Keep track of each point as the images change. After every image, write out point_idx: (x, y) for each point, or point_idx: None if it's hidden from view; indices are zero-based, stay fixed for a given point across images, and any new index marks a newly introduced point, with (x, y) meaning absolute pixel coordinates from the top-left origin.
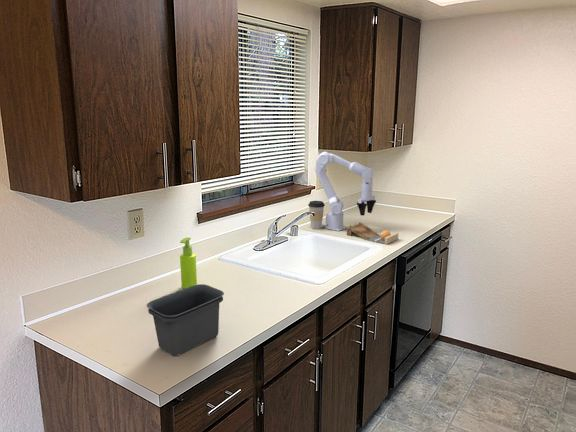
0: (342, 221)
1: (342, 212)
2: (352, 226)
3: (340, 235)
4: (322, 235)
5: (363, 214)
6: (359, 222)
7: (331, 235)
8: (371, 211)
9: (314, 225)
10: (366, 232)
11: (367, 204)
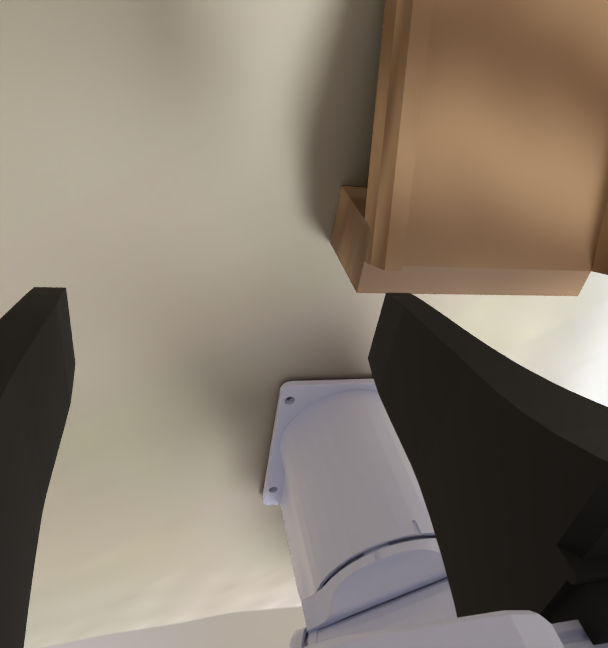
0: (374, 454)
1: (372, 574)
2: (539, 267)
3: None
4: (596, 392)
5: (425, 307)
6: (401, 266)
7: (579, 346)
8: (44, 303)
9: None
10: (502, 28)
11: (27, 570)
